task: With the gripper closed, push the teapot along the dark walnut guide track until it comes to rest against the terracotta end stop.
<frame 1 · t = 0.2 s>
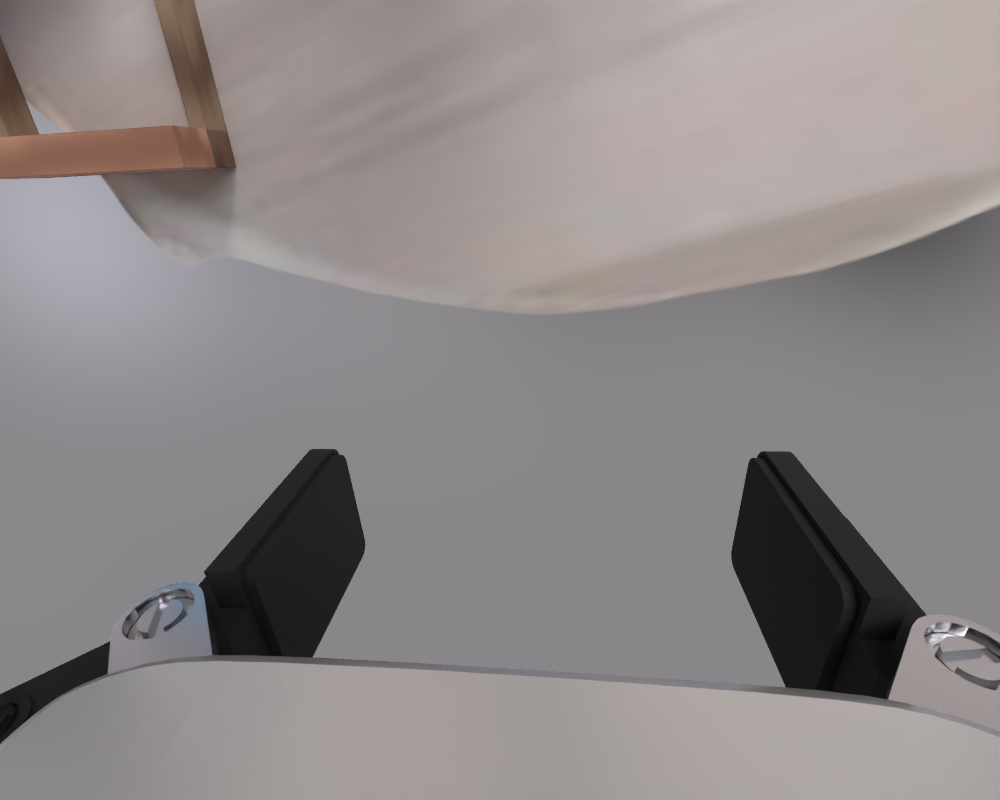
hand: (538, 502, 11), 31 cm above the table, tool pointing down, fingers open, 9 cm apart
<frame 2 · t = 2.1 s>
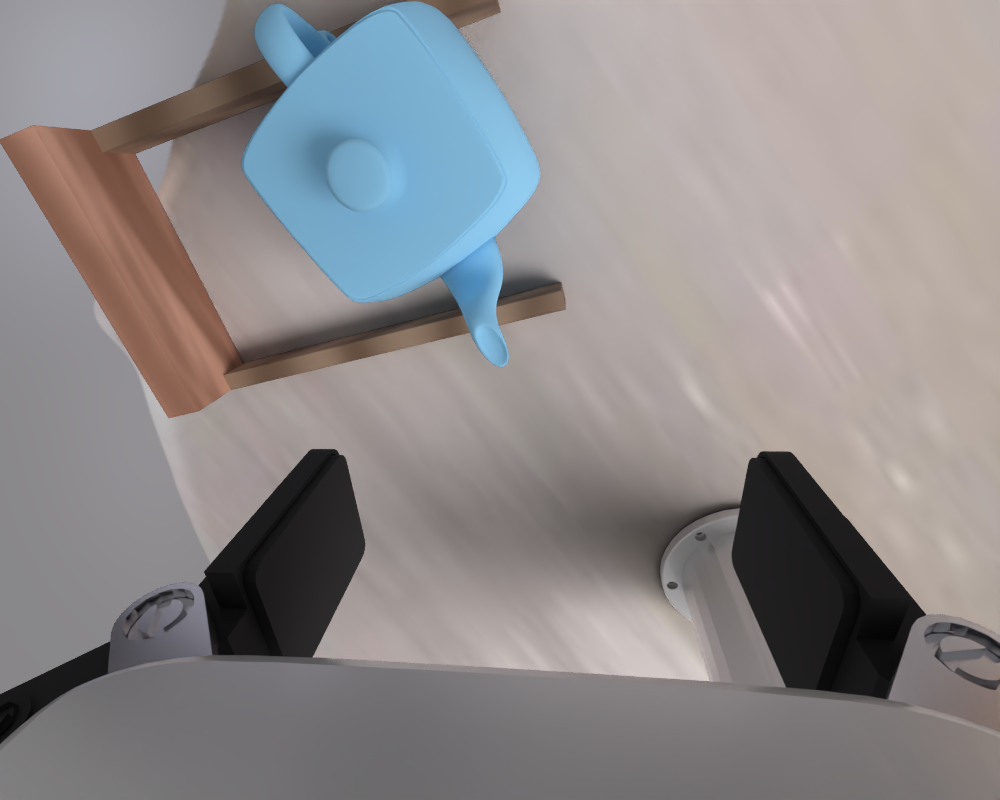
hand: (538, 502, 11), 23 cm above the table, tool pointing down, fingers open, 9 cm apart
guide track: (332, 223, 32), on the table
teapot: (439, 186, 30), on the table, touching guide track
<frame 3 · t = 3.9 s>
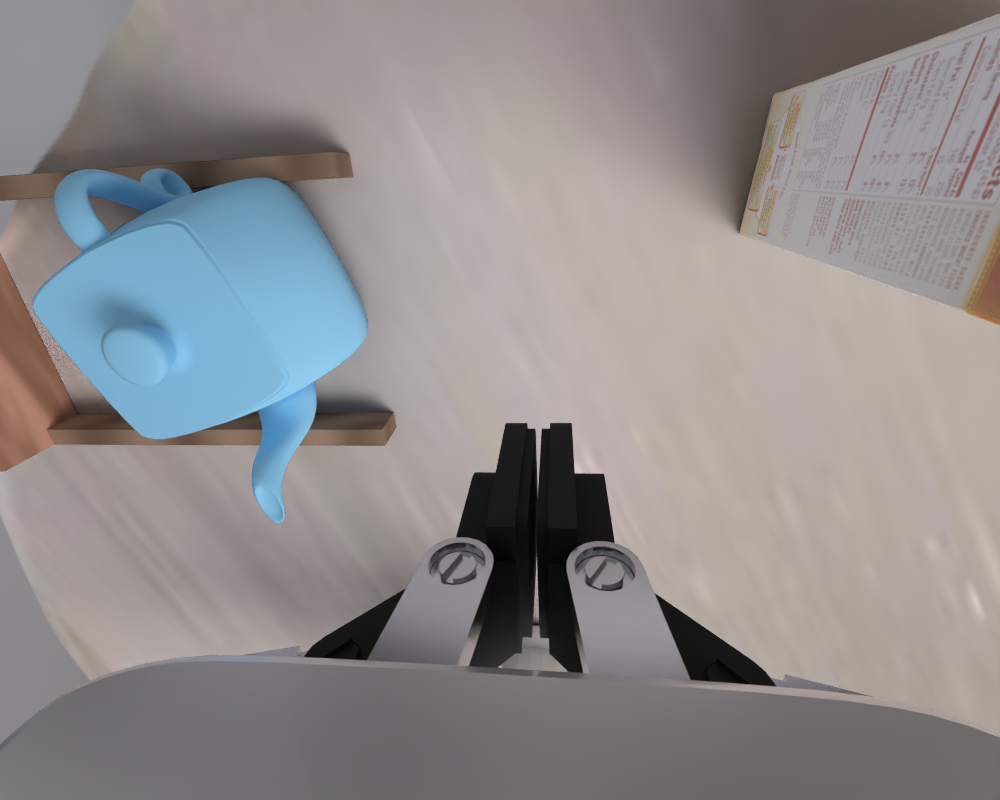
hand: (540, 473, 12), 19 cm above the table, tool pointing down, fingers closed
coffeecake box: (900, 173, 25), on the table
guide track: (178, 313, 32), on the table
teapot: (285, 306, 31), on the table, touching guide track
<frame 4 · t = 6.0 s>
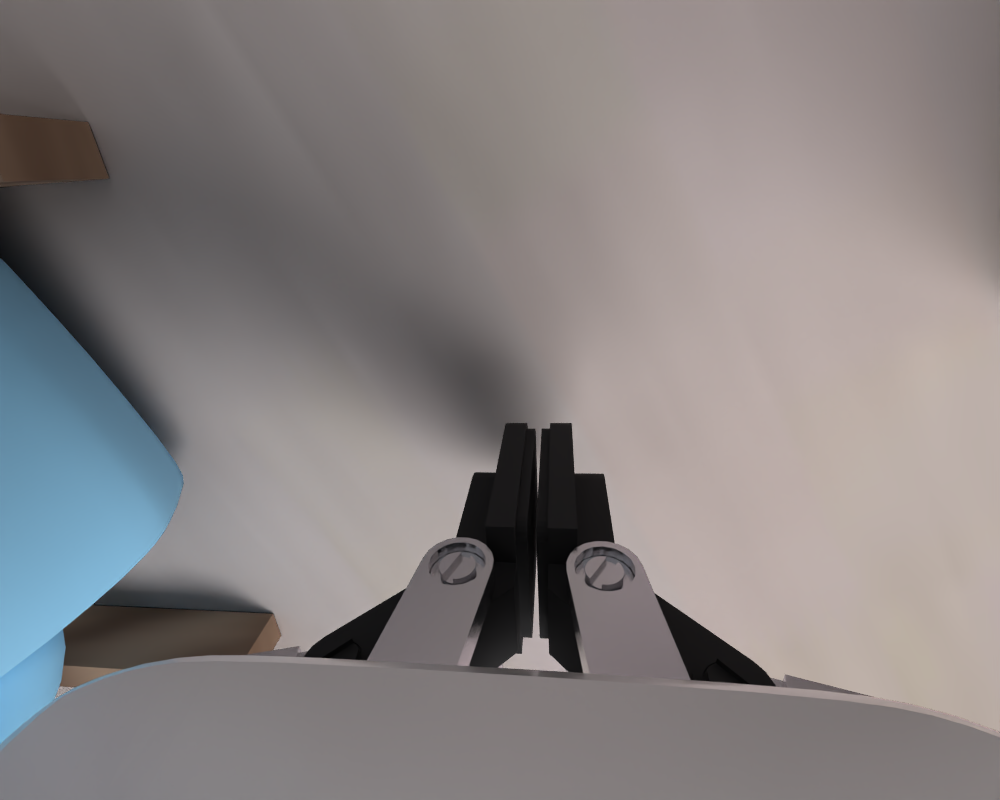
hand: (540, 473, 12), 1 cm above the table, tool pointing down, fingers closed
teapot: (35, 437, 16), on the table, touching guide track
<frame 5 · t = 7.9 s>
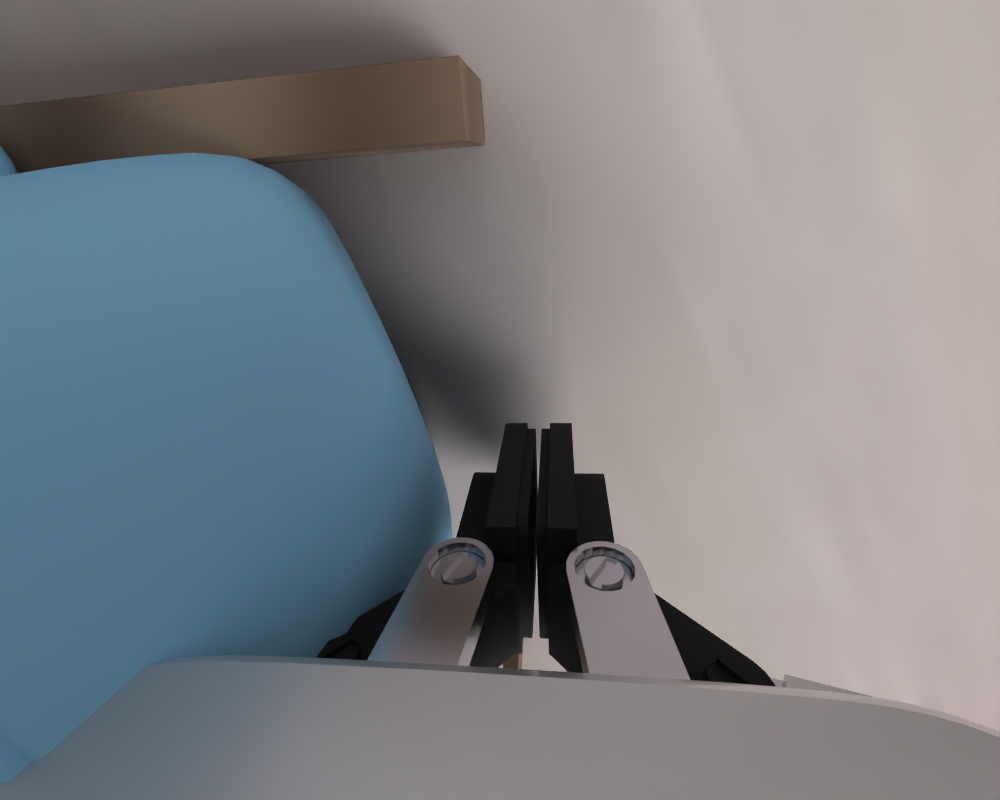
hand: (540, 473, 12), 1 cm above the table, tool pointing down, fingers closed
guide track: (83, 443, 15), on the table
teapot: (260, 430, 15), on the table, touching gripper, guide track
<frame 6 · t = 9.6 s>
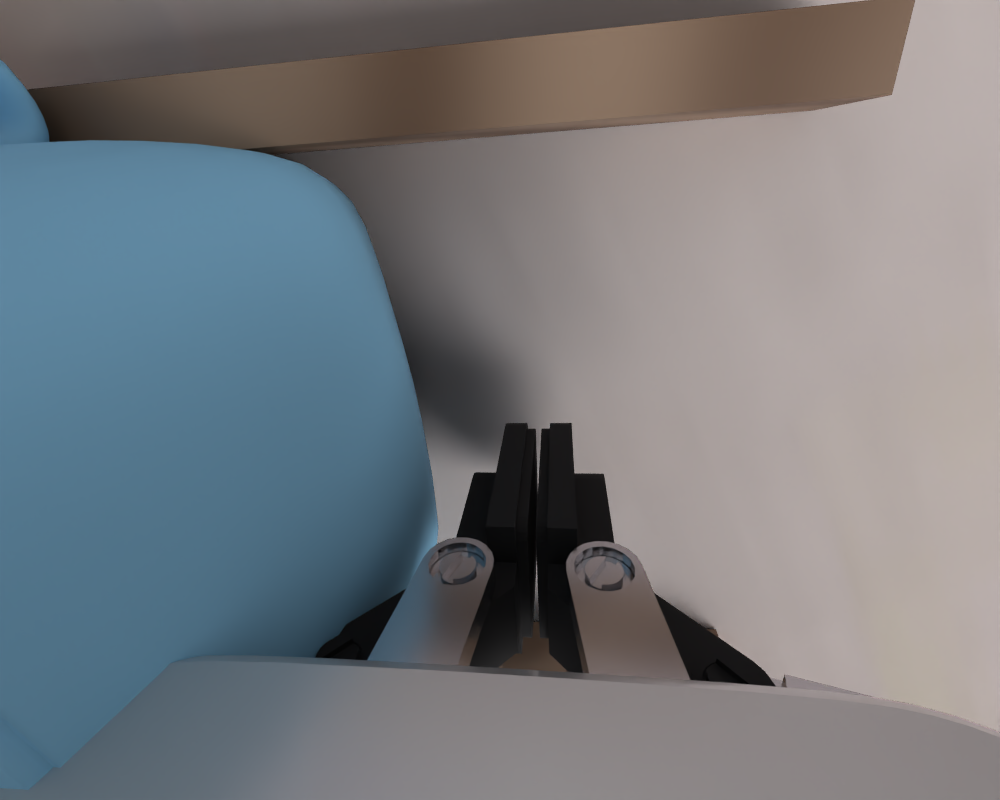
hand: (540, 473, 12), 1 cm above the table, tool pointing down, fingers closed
guide track: (271, 438, 15), on the table
teapot: (249, 414, 14), on the table, touching gripper, guide track
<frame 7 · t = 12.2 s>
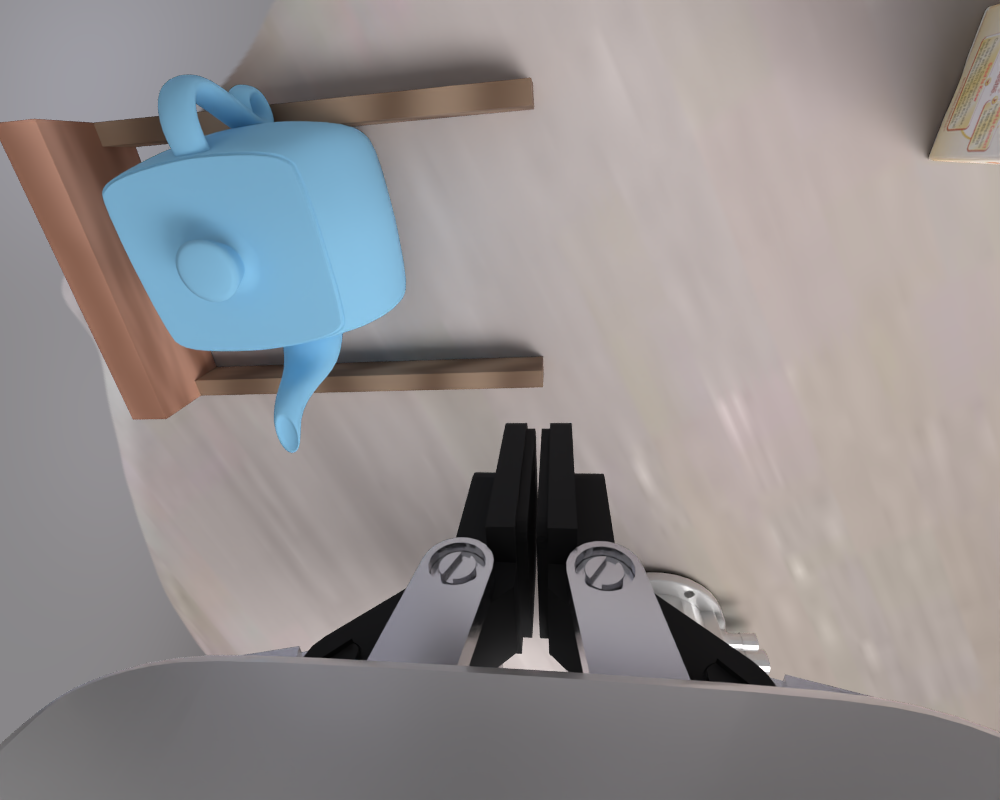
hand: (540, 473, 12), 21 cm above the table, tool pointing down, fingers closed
guide track: (333, 258, 32), on the table
teapot: (323, 246, 32), on the table, touching guide track
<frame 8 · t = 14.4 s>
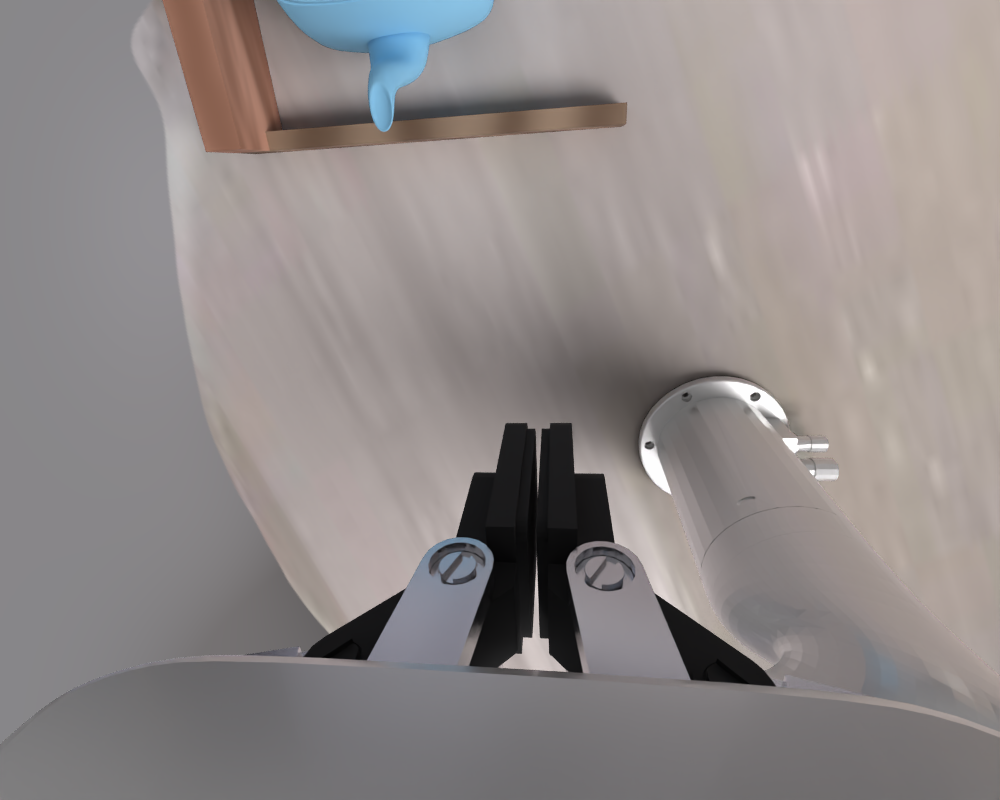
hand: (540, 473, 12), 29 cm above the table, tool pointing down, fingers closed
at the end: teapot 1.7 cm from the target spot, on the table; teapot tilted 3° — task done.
